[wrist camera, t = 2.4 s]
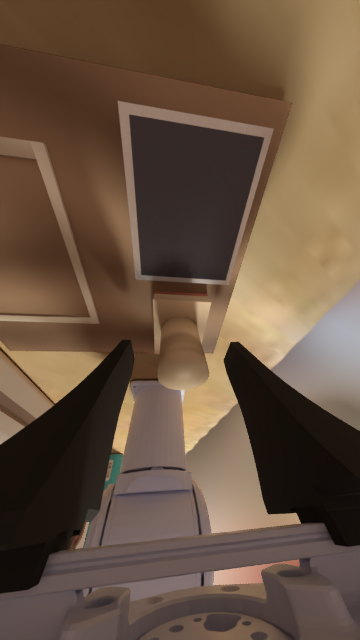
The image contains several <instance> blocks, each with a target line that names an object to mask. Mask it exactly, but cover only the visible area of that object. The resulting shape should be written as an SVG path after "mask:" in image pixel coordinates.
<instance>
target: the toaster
mask: <svg viewBox="0 0 360 640" xmlns="http://www.w3.org/2000/svg"><path fill="white" fill-rule="evenodd" d="M52 406H54V404H53V403H52V402H51V401H50V400H49V399H48V398H47V397H46V396H45V395H44V394H43V393H42V392H41V391H40V390H39V389H38V388H37V387H36V386H35V385H34V384H33V383H32V382H31V381H30V380H29V379H28V378H27V377H26V376H25V375H24V374H23V373H22V372H21V371H20V370H19V369H18V368H17V367H16V366H15V365H14V364H13V363H12V361H11V360H10V359H9V358H8V357H7V356H6V355H5V354H4V353H3V352H2V351H1V350H0V444H2V443H3V442H5V441H6V440H8V439H9V438H10V437H12V436H13V435H15V434H16V433H17V432H19V431H20V430H22V429H23V428H24V427H26V426H27V425H28V424H30V423H31V422H33V421H34V420H35V419H37V418H38V417H39V416H41V415H42V414H43V413H45V412H46V411H47V410H49V409H50V408H51V407H52Z"/></svg>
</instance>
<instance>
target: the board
mask: <svg viewBox="0 0 360 640" xmlns="http://www.w3.org/2000/svg"><path fill="white" fill-rule="evenodd" d="M118 101H122V102H127V103H133V104H138V105H144V106H150V107H155V108H161V109H166V110H172V111H178V112H183V113H189V114H194V115H200V116H206V117H211V118H217V119H222V120H228V121H234V122H239V123H245V124H250V125H256V126H262V127H267V128H273V129H274V130H273V133H272V137H271V140H270V144H269V147H268V151H267V154H266V158H265V161H264V164H263V168H262V171H261V175H260V178H259V182H258V185H257V189H256V192H255V196H254V199H253V202H252V206H251V209H250V213H249V216H248V220H247V223H246V227H245V230H244V234H243V237H242V240H241V244H240V247H239V251H238V254H237V258H236V261H235V265H234V268H233V271H232V275H231V278H230V282H229V285H219V284H203V283H187V282H170V281H154V280H138V279H136V276H135V267H134V257H133V247H132V237H131V227H130V217H129V207H128V198H127V188H126V178H125V168H124V158H123V148H122V138H121V128H120V119H119V109H118ZM291 105H292V103H291V102H286V101H281V100H276V99H271V98H266V97H261V96H256V95H251V94H246V93H241V92H236V91H231V90H226V89H221V88H216V87H211V86H206V85H201V84H196V83H191V82H186V81H181V80H176V79H171V78H166V77H161V76H156V75H151V74H146V73H141V72H136V71H131V70H126V69H121V68H116V67H111V66H106V65H101V64H96V63H91V62H86V61H81V60H76V59H71V58H66V57H61V56H56V55H51V54H46V53H41V52H36V51H31V50H26V49H21V48H16V47H11V46H6V45H1V44H0V340H1V342H2V343H3V344H4V345H5V346H6V347H7V348H8V349H9V351H71V352H112V350H113V349H114V348H115V347H116V346H117V345H118V344H119V342H120V341H121V340H131V341H132V347H133V352H149V353H155V348H154V318H153V297H154V293H155V291H159V292H178V293H196V294H207V295H208V297H209V299H210V301H211V306H210V310H209V315H208V319H207V323H206V327H205V332H204V336H203V340H202V347H203V351H204V353H213V352H214V349H215V346H216V343H217V340H218V336H219V333H220V330H221V327H222V324H223V321H224V317H225V314H226V311H227V308H228V305H229V302H230V298H231V295H232V292H233V289H234V286H235V283H236V279H237V276H238V273H239V270H240V267H241V264H242V260H243V257H244V254H245V251H246V248H247V245H248V241H249V238H250V235H251V232H252V229H253V226H254V222H255V219H256V216H257V213H258V210H259V207H260V203H261V200H262V197H263V194H264V191H265V188H266V184H267V181H268V178H269V175H270V172H271V169H272V165H273V162H274V159H275V156H276V153H277V150H278V146H279V143H280V140H281V137H282V134H283V131H284V127H285V124H286V121H287V118H288V115H289V112H290V108H291Z"/></svg>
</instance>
